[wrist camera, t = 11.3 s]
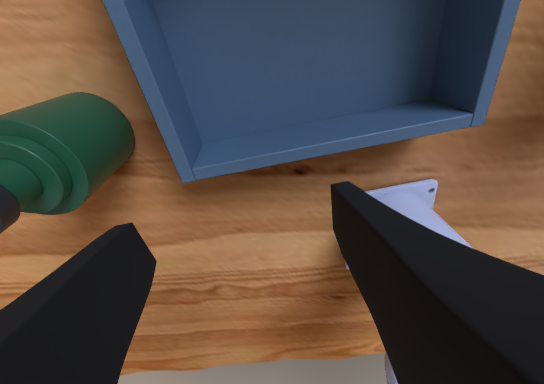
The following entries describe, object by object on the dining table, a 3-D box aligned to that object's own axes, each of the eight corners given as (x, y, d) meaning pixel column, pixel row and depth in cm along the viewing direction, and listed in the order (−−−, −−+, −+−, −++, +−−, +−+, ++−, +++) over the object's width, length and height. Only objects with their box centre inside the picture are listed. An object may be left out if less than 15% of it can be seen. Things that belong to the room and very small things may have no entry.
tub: (489, -219, 10) (630, -367, 7) (433, 105, 18) (484, 124, 14) (93, -123, 11) (9, -209, 7) (196, 152, 18) (182, 183, 14)
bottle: (147, 158, 18) (69, 251, 10) (80, 171, 18) (-47, 273, 11) (110, 84, 16) (-35, 134, 8) (32, 101, 16) (-190, 166, 8)
